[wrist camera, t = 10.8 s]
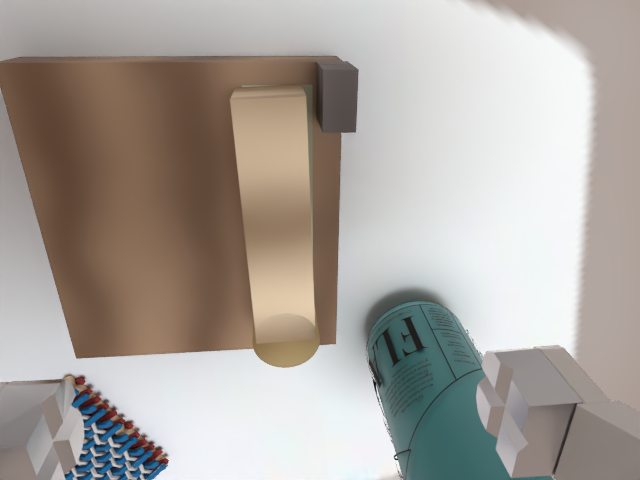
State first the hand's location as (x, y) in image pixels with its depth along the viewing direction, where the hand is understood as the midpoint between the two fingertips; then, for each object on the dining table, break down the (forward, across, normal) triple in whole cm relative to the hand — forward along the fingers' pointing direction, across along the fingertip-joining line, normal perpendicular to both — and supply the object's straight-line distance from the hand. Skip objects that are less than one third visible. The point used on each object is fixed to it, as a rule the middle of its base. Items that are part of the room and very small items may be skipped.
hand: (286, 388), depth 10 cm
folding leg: (+15, 0, +3) cm, 16 cm away
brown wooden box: (+18, +4, +3) cm, 19 cm away
